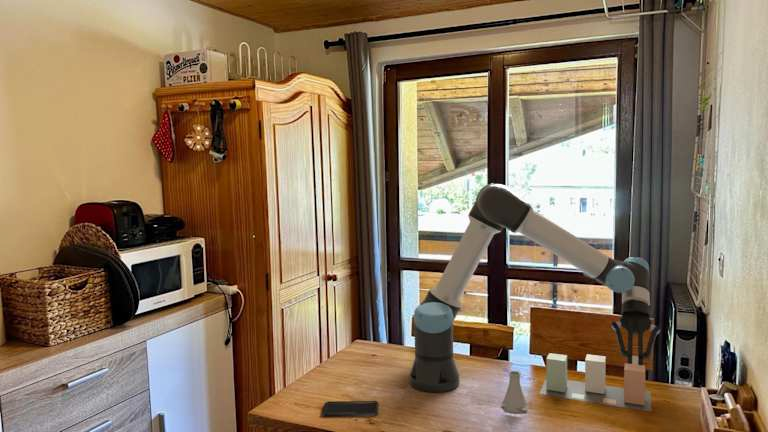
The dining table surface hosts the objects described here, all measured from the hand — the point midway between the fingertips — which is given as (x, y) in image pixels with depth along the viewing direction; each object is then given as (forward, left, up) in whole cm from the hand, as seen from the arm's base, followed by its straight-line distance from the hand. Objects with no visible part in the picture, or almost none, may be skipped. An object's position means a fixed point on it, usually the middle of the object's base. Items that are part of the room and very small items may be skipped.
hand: (635, 380), depth 143 cm
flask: (-29, -17, -6) cm, 34 cm away
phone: (-70, -35, -7) cm, 78 cm away
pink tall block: (0, -4, -4) cm, 6 cm away
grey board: (-10, -2, -6) cm, 12 cm away
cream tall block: (-10, 0, -4) cm, 11 cm away
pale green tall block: (-20, -3, -4) cm, 21 cm away
